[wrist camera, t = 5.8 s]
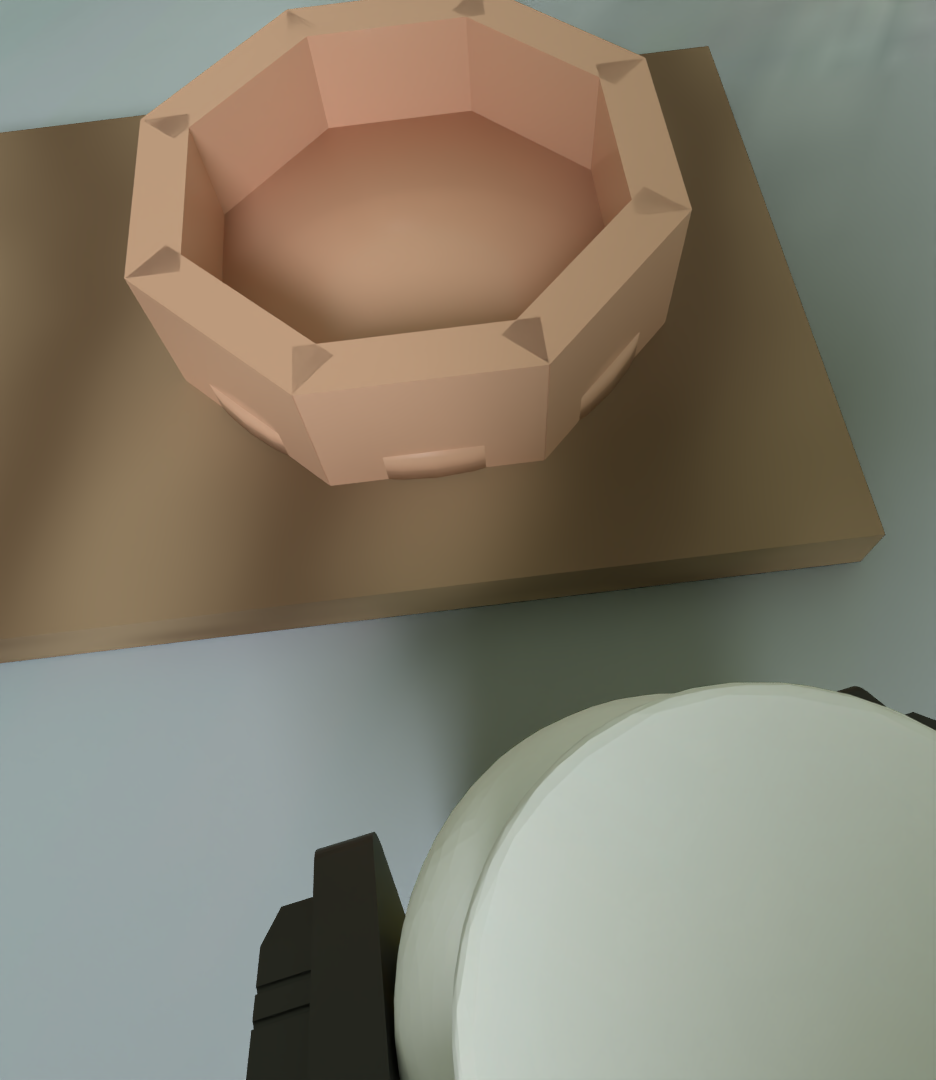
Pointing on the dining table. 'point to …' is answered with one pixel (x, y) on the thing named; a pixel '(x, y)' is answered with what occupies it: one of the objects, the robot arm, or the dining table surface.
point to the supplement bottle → (684, 898)
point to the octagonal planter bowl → (409, 232)
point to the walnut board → (391, 504)
